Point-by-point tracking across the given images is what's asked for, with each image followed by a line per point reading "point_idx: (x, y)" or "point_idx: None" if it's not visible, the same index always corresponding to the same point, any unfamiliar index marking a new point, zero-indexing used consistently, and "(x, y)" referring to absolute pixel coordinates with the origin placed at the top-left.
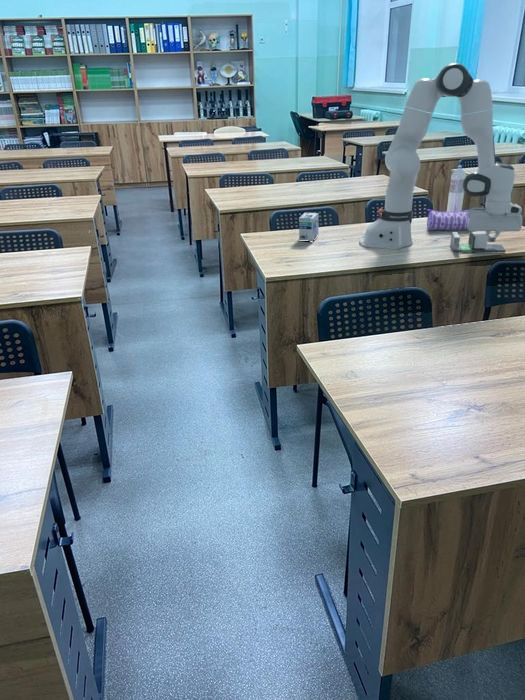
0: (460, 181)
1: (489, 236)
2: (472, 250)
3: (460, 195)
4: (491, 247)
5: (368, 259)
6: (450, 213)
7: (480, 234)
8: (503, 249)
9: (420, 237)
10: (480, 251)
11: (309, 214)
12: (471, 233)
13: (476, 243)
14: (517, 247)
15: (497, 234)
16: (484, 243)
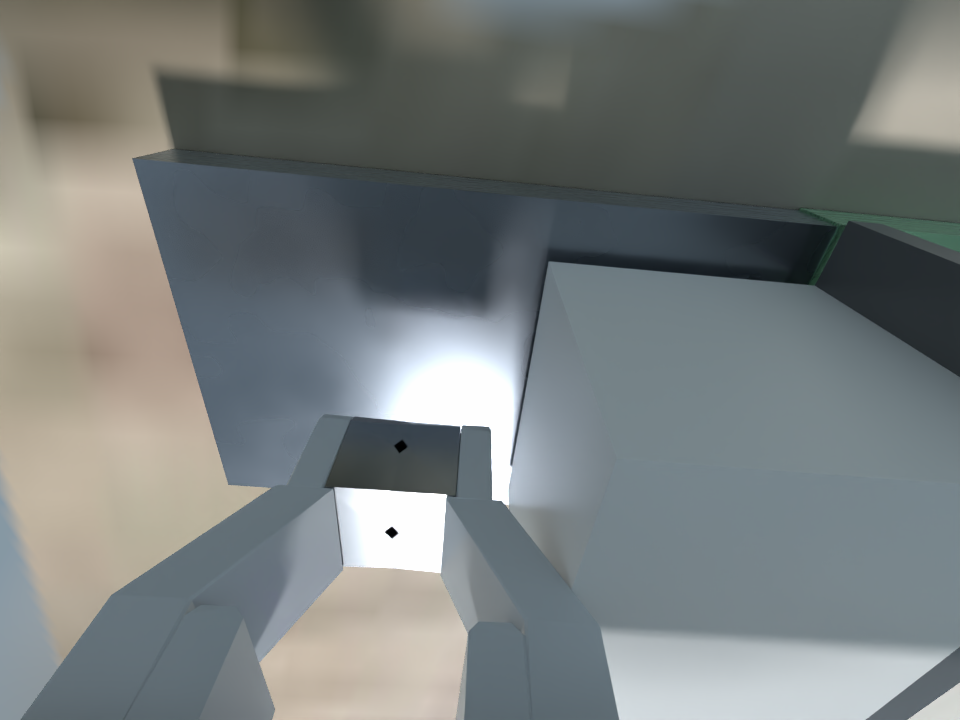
0: None
1: (475, 530)
2: (836, 219)
3: None
4: (405, 355)
5: None
6: None
7: (772, 614)
8: (184, 218)
9: (955, 710)
10: (663, 200)
11: None
12: (951, 685)
13: (826, 330)
14: (14, 435)
15: (204, 577)
16: (624, 314)
